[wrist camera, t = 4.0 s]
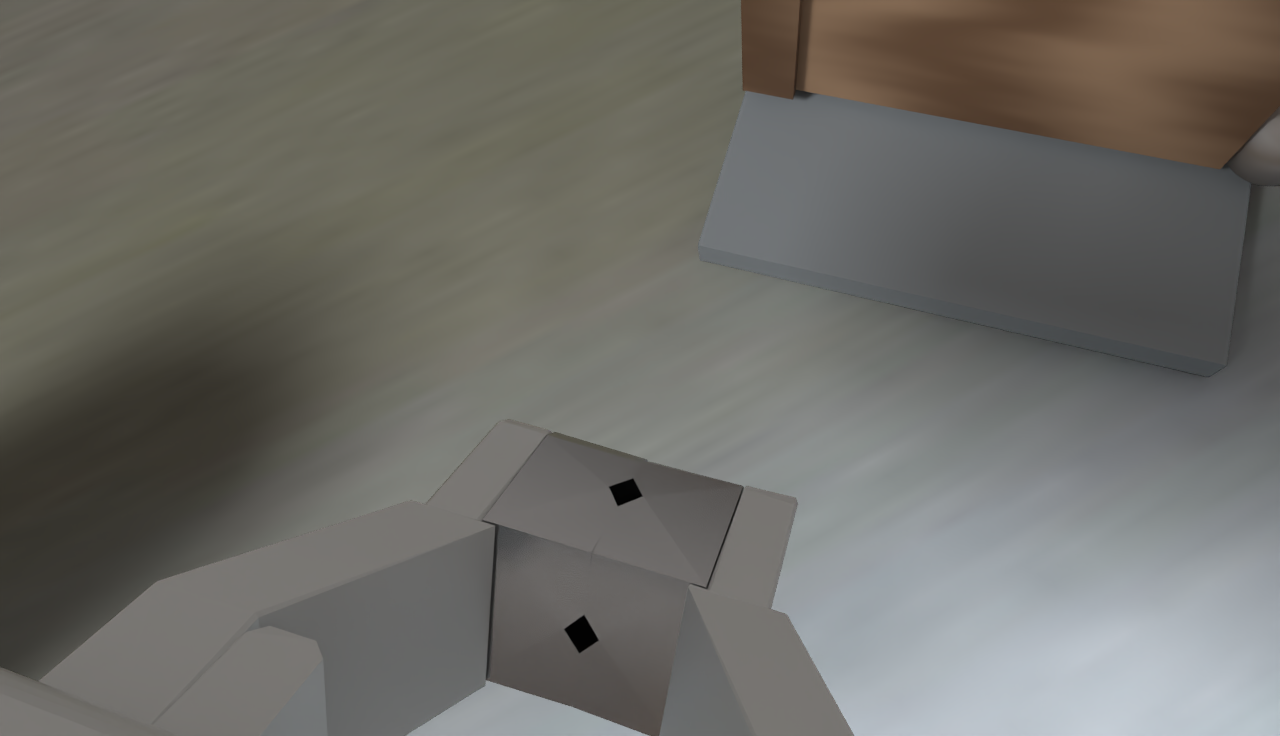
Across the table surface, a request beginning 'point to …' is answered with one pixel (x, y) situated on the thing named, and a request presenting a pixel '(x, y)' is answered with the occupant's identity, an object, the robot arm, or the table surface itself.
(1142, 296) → the grey plate
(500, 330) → the table surface
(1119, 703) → the table surface
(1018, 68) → the gate leaf
